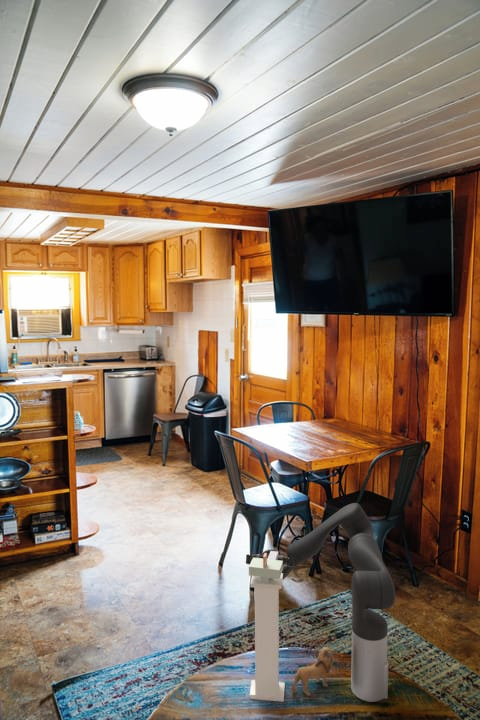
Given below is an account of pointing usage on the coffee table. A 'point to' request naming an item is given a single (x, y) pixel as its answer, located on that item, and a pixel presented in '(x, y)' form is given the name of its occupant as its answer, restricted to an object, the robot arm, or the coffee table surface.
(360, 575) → the robot arm
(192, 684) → the coffee table surface
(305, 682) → the lion figurine
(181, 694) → the coffee table surface
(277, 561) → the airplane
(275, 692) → the stand
